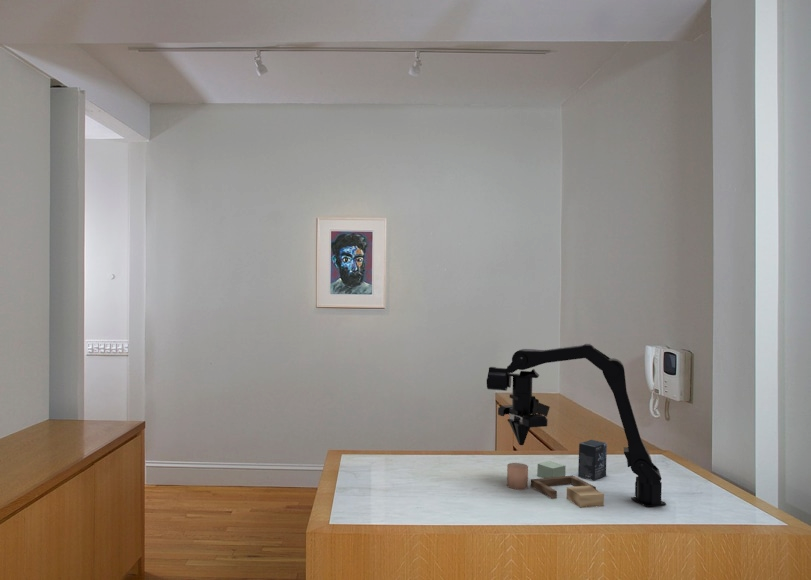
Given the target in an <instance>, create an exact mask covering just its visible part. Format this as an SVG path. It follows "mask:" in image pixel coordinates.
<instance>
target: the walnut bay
mask: <svg viewBox="0 0 811 580" xmlns="http://www.w3.org/2000/svg"><path fill="white" fill-rule="evenodd" d="M565 485H566V486H567V485H572V486H573V487H575V486H591V487H593V488H594V489H596V490H597V486H595V485H592V484H591V483H589V482H586V481H585V480H583V479H580V478H579V477H576V476H574V475H565V476H561V477H551V478H542V477H539V478H533V479H530V487H531V488H532V489H534V490H536V491H538V492H539V493H542V494H544V495H545V496H547V497H548V498H550V499H552V500H554V499H557V496H558V495H557V494H558V492H557V490H556V489H555V488H552V487H555V486H565Z"/></svg>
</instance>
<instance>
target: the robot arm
mask: <svg viewBox="0 0 811 580" xmlns="http://www.w3.org/2000/svg"><path fill="white" fill-rule="evenodd" d="M581 359H582V360H583V359H585V360H587V361H588V362H590V363H591V364H592V365H594V366H595V367H596V368H597V369H599V370H601V372H602V374H603V376H604V378H605V380H606V383H607V385H608V386H609V388H610V390H611V392H612V394H613V396H614V401H615V404H616V407H617V409H618V414H619V417H620V420H621V424H622V427H623V430H624V433H625V438H626V440H627V446H625V447H623V454H624V456H625V459H626V464H627V467H628V468H630V469H631V471H632V473H633V474H634V475H636V477H635V483H634V485H635V486H634V489H635V490H634V496H631V497H630V499H631V500H632V501H634V502H636V503H638V504H641V505H642V506H644V507H646V508H647V507H648V508H649V507H650V508H651V507H657V506H659V507H660V506H665V505H667V503H666V502H665V501H663V500H662V486H663V485H662V482H661V481H662V476H661V472H660V469H659V468H658V467H657V466H656V465H655V464H654V463H653V460H652V457H651V455H650V453H649V451H648V449H647V447H646V445H645V443H644V441H643V439H642V438H641V434H640V432H639V428H638V425H637V421H636V418H635V415H634V411H633V408H632V405H631V401H630V398H629V394H628V391H627V382H626V374H625V372H626V371H625V367H624V364H623V363H622V361H621V360H619V359H617V358H615V357H614V358H611V357H610V356H608V355H606V354H605V353H603V352H602V351H600V350H599V349H597V348H595V347H594V345H592V344H591V343H585V344H581V345H572V346H565V347H557V348H551V349H537V348H536V349H534V348H522V349H519V350H517V351H516V352H514V353H513V354H512V357H511V363H510V364H509V365H507V366H506V368H505V367H497V366H489V367H488V372H487V373H488V374H487V378H486V389H487V390H492V391H505V392H507V391H508V388H509V389H510V388H511V387H512V390H511V391H512V393H511V394H510V393H509V399H511V400H512V401H511V404H507V405H505V404H504V405H500V406H499V407H498V408H497V409H498V410H497V415H498V416H501V417H505V416H506V415H509V418H508V419H507V422H508V424H509V425H510V427H511V429H512V432H513V433H514V436H515V438H516V441H517V443H518V445H520V446H524V444H525V442H526V439H527V436H528V433H529V431H530V429H531V428H543V427H548V425H549V423H548V418H547V417H548V415H549V412H550V408H551V407H550V406H549V405H546V404H543V403H541V402H540V401H539V399H537V398H536V396H535V395H533V379H538V378H539V377H540V374H539V373H538V372H537V371H536V370H535V369H534V367H537V366H540V365H542V364H547V363H556V362H557V363H558V362H563V361H564V362H565V361H571V360H573V361H574V360H581ZM531 368H533V369H532V370H529V371H527V370H528V369H531ZM518 370H519V371H520V372H519V373H515V372H516V371H518Z"/></svg>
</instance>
